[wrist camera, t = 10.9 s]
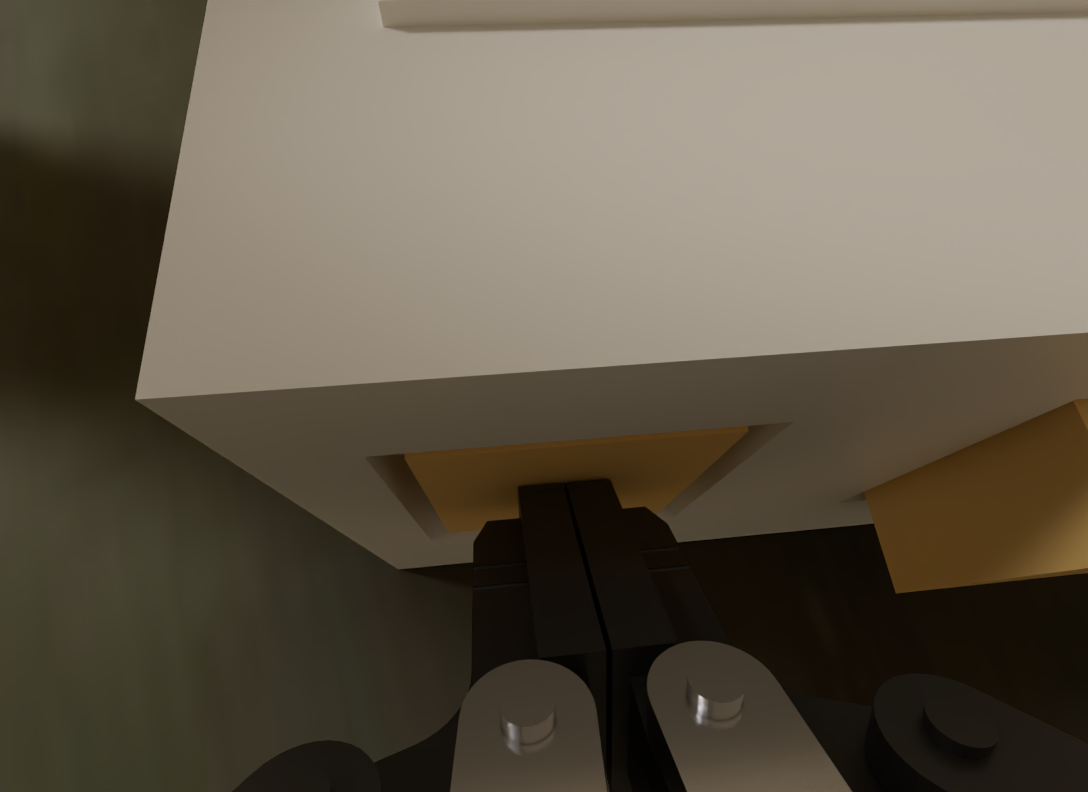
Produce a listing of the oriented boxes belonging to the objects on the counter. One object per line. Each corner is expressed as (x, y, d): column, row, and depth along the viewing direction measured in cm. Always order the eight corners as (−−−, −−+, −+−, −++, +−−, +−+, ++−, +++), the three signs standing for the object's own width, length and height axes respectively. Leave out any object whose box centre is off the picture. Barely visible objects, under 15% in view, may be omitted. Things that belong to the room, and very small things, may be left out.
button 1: (448, 533, 12) (404, 459, 7) (443, 398, 13) (402, 257, 8) (658, 513, 12) (748, 431, 8) (635, 384, 14) (701, 241, 9)
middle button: (896, 593, 12) (1150, 559, 7) (851, 452, 13) (1045, 343, 8) (1093, 572, 12) (1460, 526, 8) (1033, 437, 13) (1320, 323, 9)
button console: (398, 569, 16) (95, 373, 4) (396, 238, 20) (240, -302, 9) (1255, 486, 18) (2563, 209, 7) (1091, 203, 22) (1709, -268, 11)
